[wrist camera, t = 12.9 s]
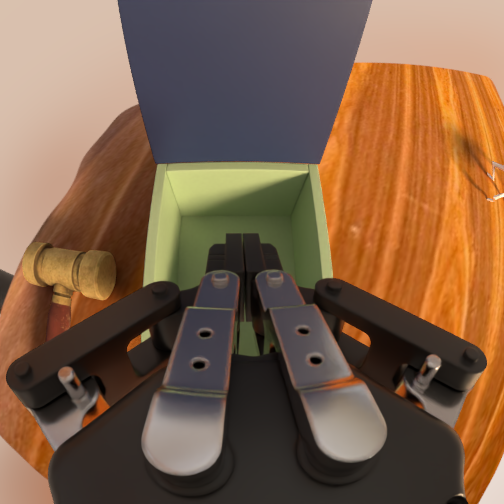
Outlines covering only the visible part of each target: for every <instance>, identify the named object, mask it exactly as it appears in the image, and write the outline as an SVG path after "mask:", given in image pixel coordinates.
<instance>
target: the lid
mask: <svg viewBox="0 0 504 504" xmlns="http://www.w3.org/2000/svg"><path fill="white" fill-rule="evenodd" d="M371 4H372V0H118V6H119V12H120V18H121V23H122V29H123V34H124V39H125V44H126V49H127V54H128V59H129V64H130V68H131V73H132V77H133V81H134V85H135V90H136V94H137V98H138V102H139V106H140V110H141V114H142V118H143V121H144V125H145V129H146V132H147V136H148V140H149V143H150V147H151V150H152V154H153V157H154V161H155V163H156V164H159V163H178V162H207V161H261V162H290V163H309V164H320V161H321V159H322V156H323V153H324V150H325V147H326V145H327V142H328V139H329V136H330V133H331V130H332V127H333V124H334V121H335V118H336V116H337V113H338V110H339V107H340V104H341V101H342V98H343V95H344V92H345V89H346V85H347V82H348V79H349V76H350V73H351V70H352V67H353V64H354V60H355V57H356V54H357V50H358V47H359V44H360V41H361V38H362V34H363V31H364V28H365V24H366V21H367V18H368V14H369V10H370V7H371Z"/></svg>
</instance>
